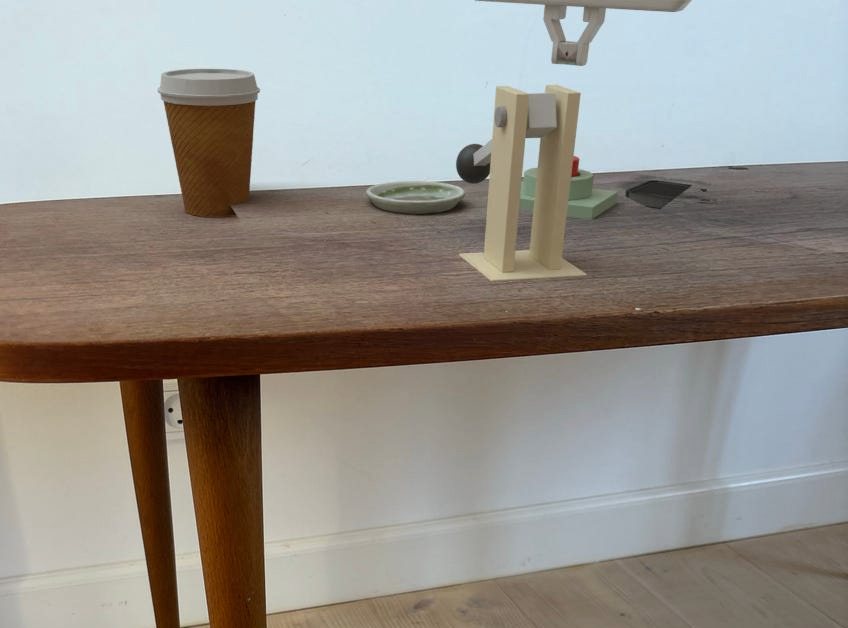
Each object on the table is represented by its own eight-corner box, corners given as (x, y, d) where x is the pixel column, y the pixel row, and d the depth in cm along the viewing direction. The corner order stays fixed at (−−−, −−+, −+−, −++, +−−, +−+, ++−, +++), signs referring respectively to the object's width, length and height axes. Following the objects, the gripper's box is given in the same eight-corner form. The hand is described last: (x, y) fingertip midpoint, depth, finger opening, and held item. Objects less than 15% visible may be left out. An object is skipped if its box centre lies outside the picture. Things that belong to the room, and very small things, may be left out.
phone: (767, 211, 102) (622, 190, 109) (764, 223, 102) (620, 202, 109) (791, 197, 107) (651, 178, 114) (788, 209, 108) (650, 189, 115)
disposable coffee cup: (282, 206, 106) (278, 72, 100) (229, 225, 99) (221, 82, 92) (204, 195, 110) (195, 65, 103) (148, 213, 103) (134, 75, 96)
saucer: (407, 200, 109) (408, 175, 108) (483, 215, 104) (485, 189, 103) (345, 216, 103) (345, 189, 102) (422, 232, 98) (423, 205, 97)
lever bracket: (458, 268, 88) (469, 83, 80) (547, 263, 90) (566, 81, 82) (490, 295, 82) (506, 97, 74) (585, 289, 83) (610, 95, 76)
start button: (582, 175, 103) (584, 156, 102) (570, 182, 100) (572, 162, 99) (547, 171, 104) (549, 152, 103) (534, 178, 102) (536, 158, 101)
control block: (615, 214, 105) (621, 171, 103) (590, 231, 99) (596, 186, 97) (521, 203, 109) (525, 161, 107) (492, 218, 103) (495, 174, 101)
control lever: (452, 188, 94) (450, 149, 93) (486, 186, 95) (484, 148, 94) (523, 134, 78) (521, 87, 77) (563, 133, 78) (561, 86, 78)
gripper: (462, -124, 91) (451, 59, 98) (700, -121, 83) (668, 76, 91) (490, -121, 95) (477, 53, 103) (717, -119, 88) (686, 69, 95)
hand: (568, 64), depth 97 cm, fingers closed
